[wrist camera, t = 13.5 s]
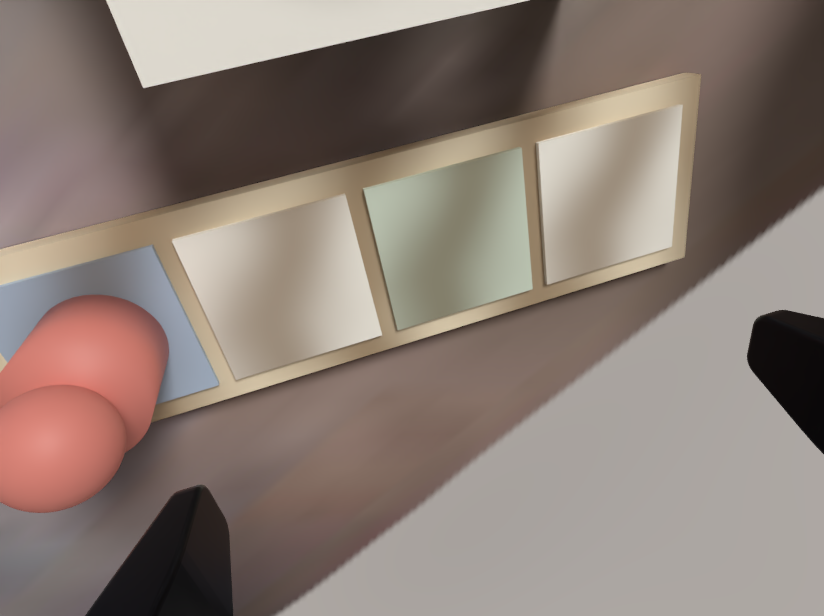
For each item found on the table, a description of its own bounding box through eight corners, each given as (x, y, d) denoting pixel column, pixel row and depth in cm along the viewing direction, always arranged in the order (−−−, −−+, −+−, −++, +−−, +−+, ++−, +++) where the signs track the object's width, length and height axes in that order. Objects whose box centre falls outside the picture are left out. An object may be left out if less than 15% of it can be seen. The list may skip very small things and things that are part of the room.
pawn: (138, 279, 16) (79, 402, 11) (187, 376, 18) (158, 519, 13) (7, 315, 15) (-122, 461, 10) (72, 410, 17) (-7, 574, 12)
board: (684, 72, 18) (705, 74, 18) (671, 250, 22) (687, 259, 21) (-70, 267, 15) (-90, 281, 14) (57, 438, 19) (48, 458, 18)
